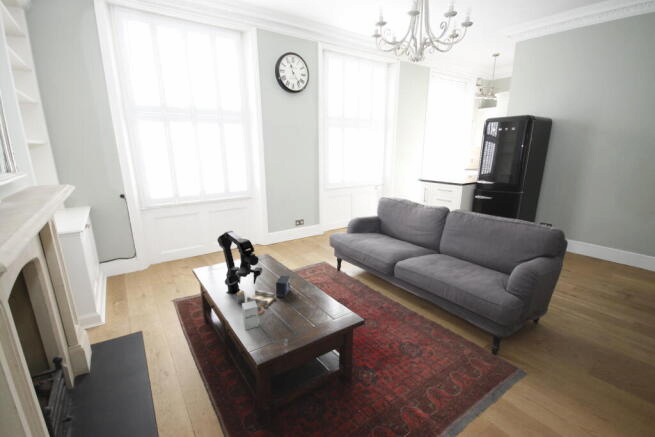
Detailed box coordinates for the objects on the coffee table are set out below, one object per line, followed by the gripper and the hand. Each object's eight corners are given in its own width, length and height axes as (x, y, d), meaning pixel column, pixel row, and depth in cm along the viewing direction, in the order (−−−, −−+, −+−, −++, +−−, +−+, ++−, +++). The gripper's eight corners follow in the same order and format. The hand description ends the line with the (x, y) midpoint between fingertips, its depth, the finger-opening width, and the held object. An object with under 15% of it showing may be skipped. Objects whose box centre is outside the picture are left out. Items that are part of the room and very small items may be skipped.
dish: (247, 313, 176) (247, 308, 175) (254, 306, 184) (254, 301, 183) (259, 316, 174) (258, 310, 173) (266, 309, 181) (266, 303, 180)
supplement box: (245, 330, 161) (243, 309, 158) (243, 322, 168) (241, 302, 165) (259, 327, 164) (257, 306, 161) (256, 319, 171) (255, 299, 167)
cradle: (246, 303, 187) (246, 298, 186) (256, 294, 198) (256, 289, 197) (266, 307, 183) (265, 302, 182) (275, 297, 194) (275, 292, 193)
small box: (285, 297, 194) (284, 283, 191) (276, 296, 195) (275, 282, 192) (290, 290, 204) (290, 275, 201) (281, 289, 205) (280, 275, 202)
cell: (236, 304, 186) (235, 292, 184) (240, 301, 190) (239, 289, 188) (242, 305, 185) (241, 294, 182) (246, 302, 189) (245, 290, 186)
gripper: (225, 265, 174) (227, 289, 178) (257, 266, 173) (258, 290, 177) (232, 257, 184) (234, 280, 189) (262, 258, 184) (263, 281, 188)
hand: (247, 283), depth 185 cm, fingers open, 9 cm apart
